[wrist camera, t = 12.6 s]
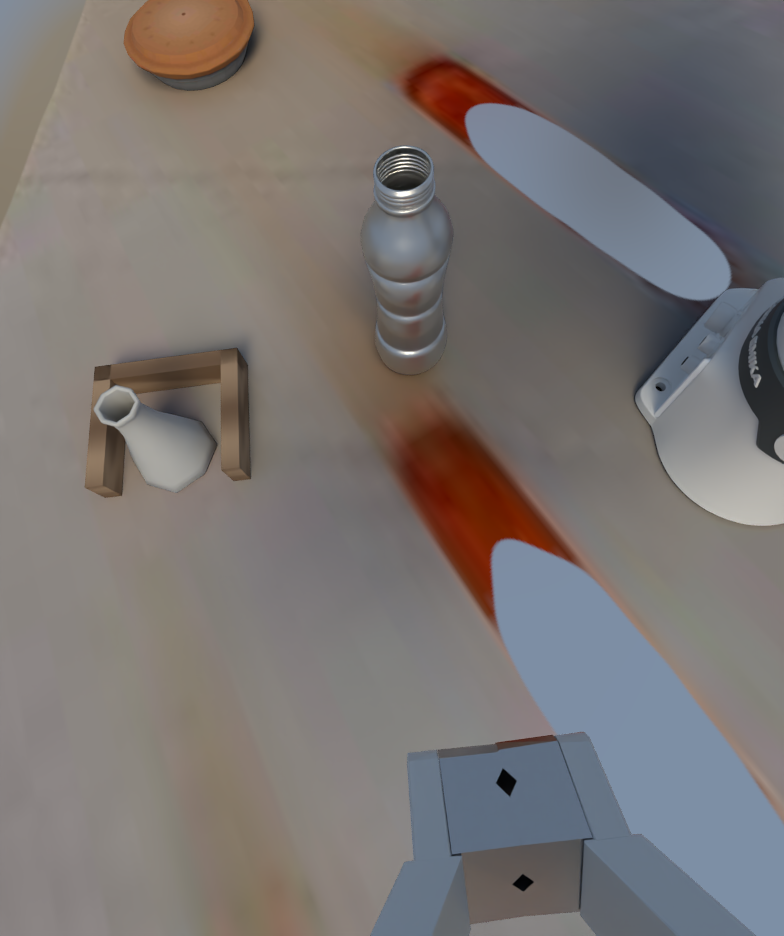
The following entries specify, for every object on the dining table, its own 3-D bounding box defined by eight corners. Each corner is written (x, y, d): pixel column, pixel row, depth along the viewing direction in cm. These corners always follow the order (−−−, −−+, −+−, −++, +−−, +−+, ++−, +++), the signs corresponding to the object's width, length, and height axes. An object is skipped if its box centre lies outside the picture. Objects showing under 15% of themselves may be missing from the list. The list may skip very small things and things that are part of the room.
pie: (132, 35, 68) (110, -11, 64) (250, 6, 69) (237, -42, 64) (146, 117, 63) (123, 74, 58) (273, 85, 64) (261, 40, 59)
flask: (174, 403, 50) (115, 345, 40) (232, 443, 48) (184, 391, 39) (120, 464, 48) (46, 417, 39) (178, 507, 46) (116, 470, 37)
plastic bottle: (368, 374, 50) (332, 202, 31) (389, 315, 52) (369, 119, 33) (434, 391, 49) (440, 223, 30) (454, 329, 51) (471, 136, 32)
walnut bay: (113, 382, 51) (94, 366, 48) (247, 365, 51) (237, 347, 48) (105, 497, 47) (84, 487, 44) (250, 478, 47) (239, 467, 44)
